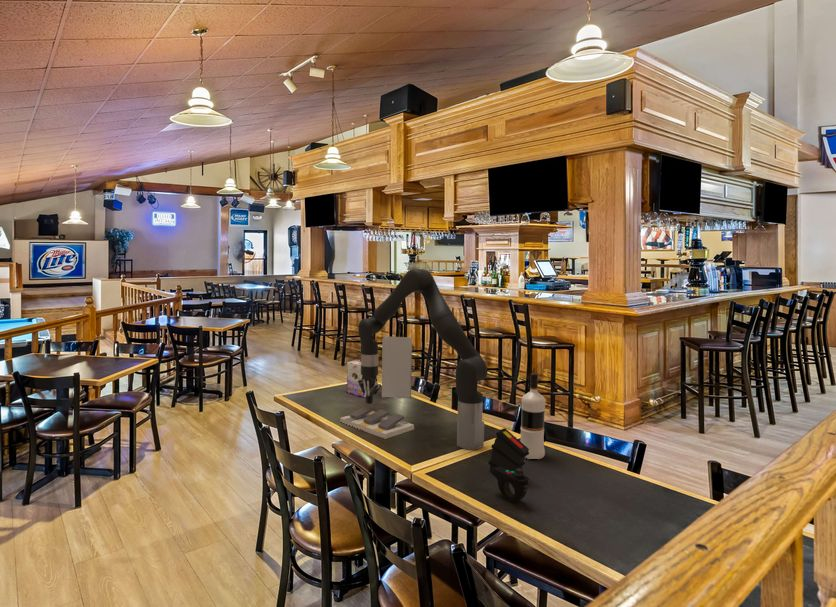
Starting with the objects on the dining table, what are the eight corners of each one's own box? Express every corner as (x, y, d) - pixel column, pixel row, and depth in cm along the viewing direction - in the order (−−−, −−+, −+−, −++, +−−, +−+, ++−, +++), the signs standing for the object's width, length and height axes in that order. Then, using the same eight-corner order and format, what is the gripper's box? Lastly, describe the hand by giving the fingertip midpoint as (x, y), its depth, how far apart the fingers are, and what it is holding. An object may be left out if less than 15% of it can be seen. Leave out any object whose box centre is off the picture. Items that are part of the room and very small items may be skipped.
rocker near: (404, 418, 211) (403, 415, 211) (386, 430, 204) (386, 427, 204) (395, 415, 215) (395, 413, 214) (378, 427, 208) (377, 424, 207)
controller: (520, 508, 146) (522, 474, 145) (488, 492, 156) (489, 460, 155) (530, 504, 149) (531, 470, 148) (498, 489, 159) (499, 457, 158)
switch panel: (413, 429, 212) (414, 423, 212) (385, 438, 201) (385, 432, 200) (368, 414, 231) (368, 408, 231) (340, 422, 220) (340, 416, 219)
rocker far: (374, 409, 223) (374, 407, 223) (357, 419, 217) (356, 416, 216) (367, 407, 227) (366, 404, 227) (349, 416, 220) (349, 414, 220)
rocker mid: (389, 414, 217) (388, 411, 217) (371, 424, 210) (371, 421, 210) (381, 411, 221) (380, 409, 220) (363, 421, 214) (363, 418, 214)
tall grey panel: (411, 395, 264) (411, 337, 261) (409, 398, 258) (410, 339, 256) (383, 394, 265) (384, 336, 263) (381, 397, 260) (382, 338, 257)
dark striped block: (487, 461, 176) (504, 427, 170) (516, 488, 168) (535, 453, 162) (481, 464, 173) (497, 429, 168) (509, 492, 166) (528, 456, 160)
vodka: (512, 453, 187) (515, 372, 185) (531, 449, 192) (534, 369, 190) (531, 462, 180) (534, 377, 177) (550, 457, 185) (553, 374, 182)
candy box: (372, 396, 262) (372, 364, 261) (363, 398, 258) (363, 365, 257) (355, 390, 272) (355, 360, 270) (346, 392, 267) (346, 361, 266)
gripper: (386, 365, 221) (386, 404, 222) (366, 360, 230) (365, 398, 231) (373, 367, 215) (372, 408, 217) (352, 362, 224) (352, 402, 226)
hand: (369, 403), depth 224 cm, fingers closed
